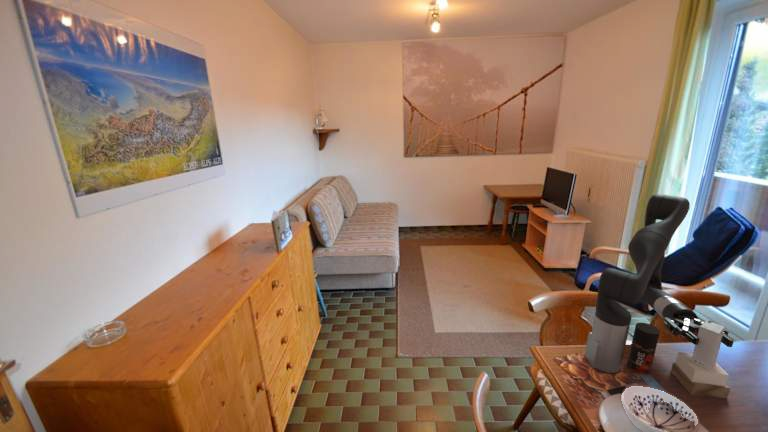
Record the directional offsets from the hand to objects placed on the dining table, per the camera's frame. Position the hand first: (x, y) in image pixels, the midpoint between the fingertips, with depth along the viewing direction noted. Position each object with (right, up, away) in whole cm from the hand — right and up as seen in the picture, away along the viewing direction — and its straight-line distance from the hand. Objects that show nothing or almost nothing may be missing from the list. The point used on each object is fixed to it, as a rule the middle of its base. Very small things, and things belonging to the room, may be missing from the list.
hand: (714, 343), depth 92 cm
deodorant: (-12, -13, +12) cm, 22 cm away
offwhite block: (0, -11, +5) cm, 12 cm away
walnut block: (0, -15, +6) cm, 16 cm away
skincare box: (0, -7, +4) cm, 8 cm away
